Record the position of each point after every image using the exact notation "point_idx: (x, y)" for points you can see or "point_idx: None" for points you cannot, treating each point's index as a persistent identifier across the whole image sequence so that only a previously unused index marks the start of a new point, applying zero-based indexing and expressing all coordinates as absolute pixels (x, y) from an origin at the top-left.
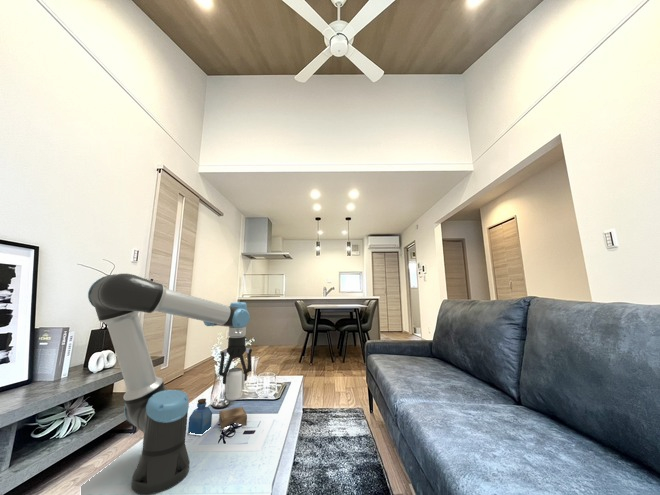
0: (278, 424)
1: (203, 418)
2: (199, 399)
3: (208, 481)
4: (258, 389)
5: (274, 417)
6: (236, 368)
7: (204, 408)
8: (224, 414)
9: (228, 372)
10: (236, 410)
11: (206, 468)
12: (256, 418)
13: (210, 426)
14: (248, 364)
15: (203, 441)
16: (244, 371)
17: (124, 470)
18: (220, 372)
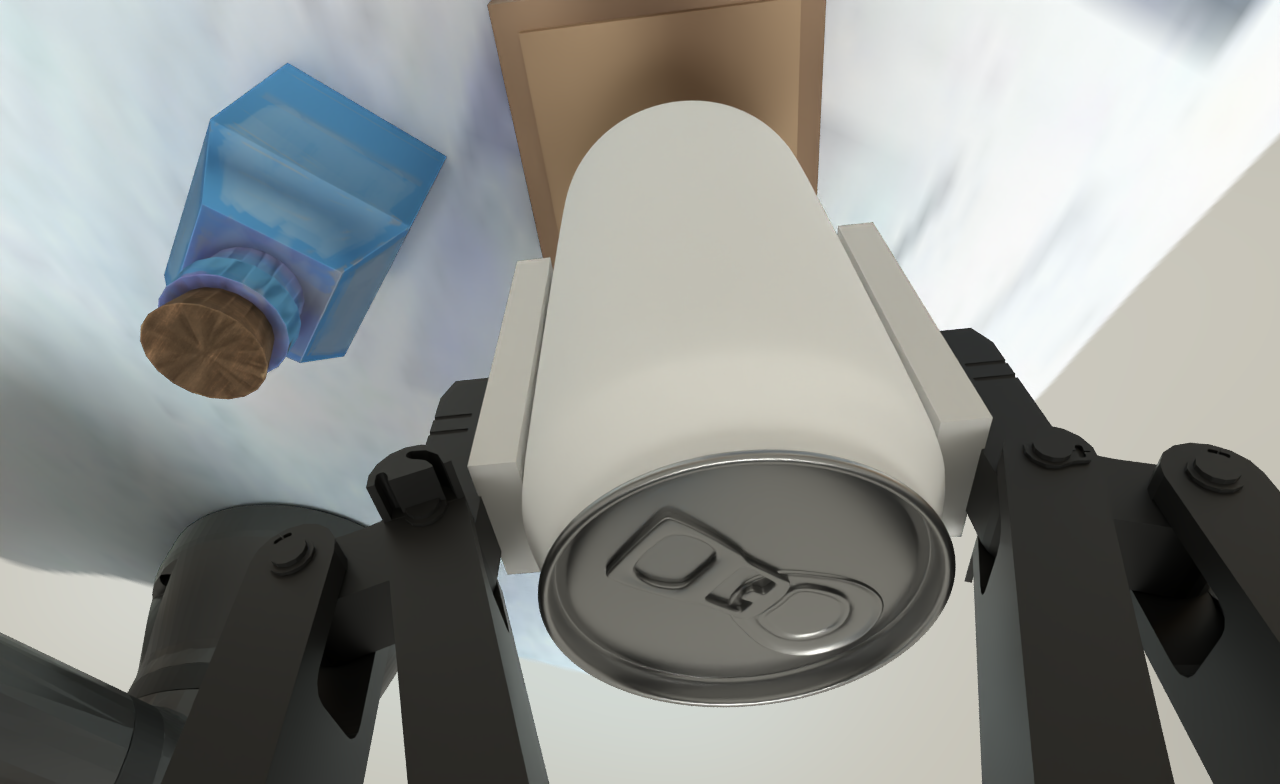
0: (1055, 310)
1: (349, 345)
2: (149, 320)
3: (532, 649)
4: None
5: (1114, 153)
6: (815, 458)
7: (300, 314)
8: (565, 179)
9: (538, 562)
10: None
11: (509, 589)
12: (936, 98)
13: (435, 178)
14: (1204, 757)
15: (429, 359)
16: (977, 588)
17: (48, 496)
18: (325, 697)
